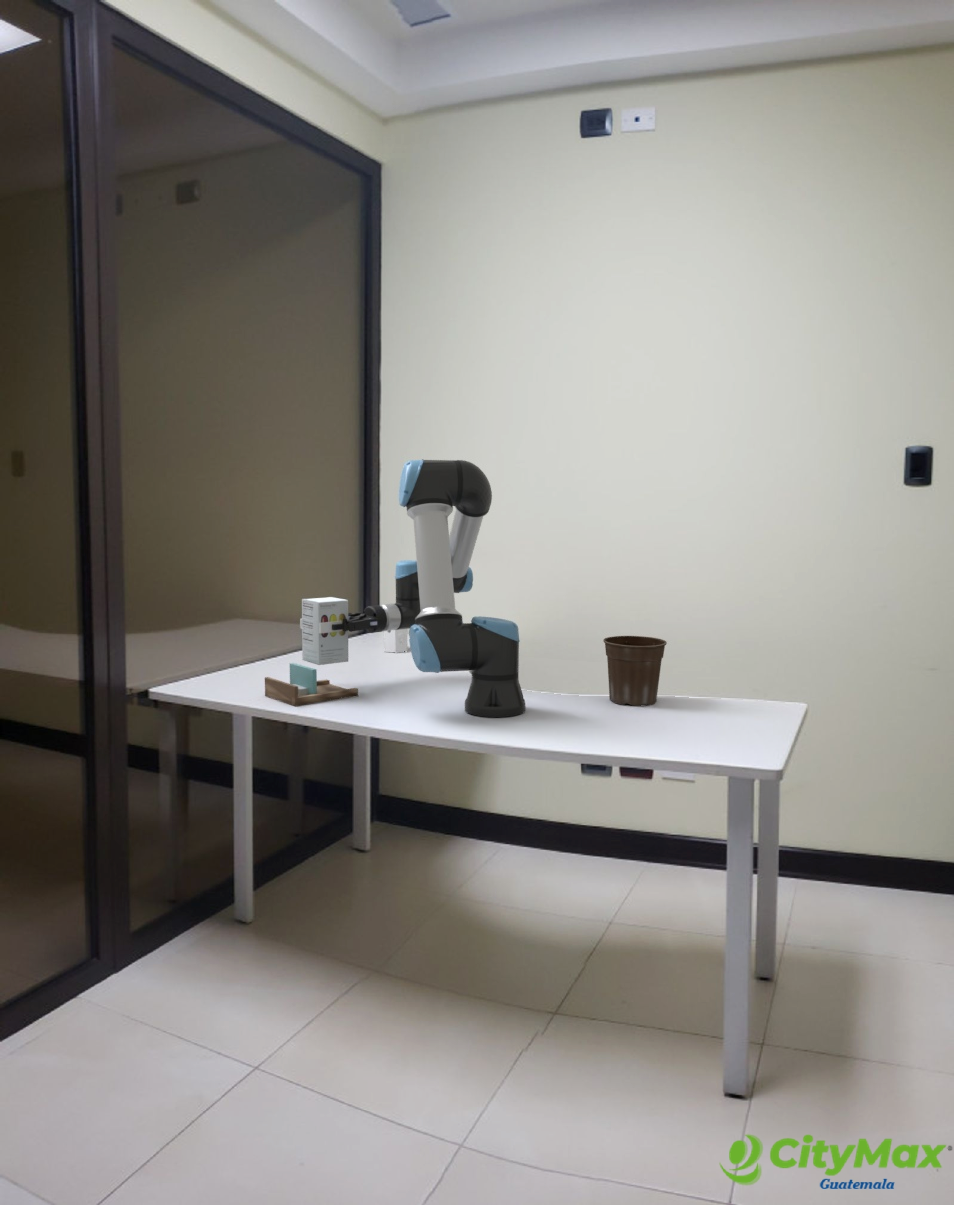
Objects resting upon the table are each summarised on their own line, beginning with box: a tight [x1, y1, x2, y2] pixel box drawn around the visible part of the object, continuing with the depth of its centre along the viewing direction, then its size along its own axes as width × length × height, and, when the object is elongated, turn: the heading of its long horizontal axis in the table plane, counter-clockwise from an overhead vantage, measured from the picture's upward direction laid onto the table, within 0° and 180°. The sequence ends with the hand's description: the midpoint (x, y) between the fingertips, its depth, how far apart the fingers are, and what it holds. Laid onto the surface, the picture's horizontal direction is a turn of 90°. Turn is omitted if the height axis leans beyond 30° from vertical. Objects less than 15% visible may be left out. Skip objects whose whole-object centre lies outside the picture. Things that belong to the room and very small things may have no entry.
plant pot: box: [603, 635, 668, 707], centre depth 245 cm, size 16×16×16 cm
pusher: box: [289, 662, 318, 696], centre depth 249 cm, size 4×12×7 cm, turn 40°
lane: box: [264, 676, 359, 707], centre depth 251 cm, size 19×16×5 cm
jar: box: [383, 629, 408, 653], centre depth 322 cm, size 9×8×12 cm
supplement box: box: [301, 596, 349, 666], centre depth 253 cm, size 10×9×17 cm
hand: (310, 625), depth 250 cm, fingers closed on supplement box, 9 cm apart
